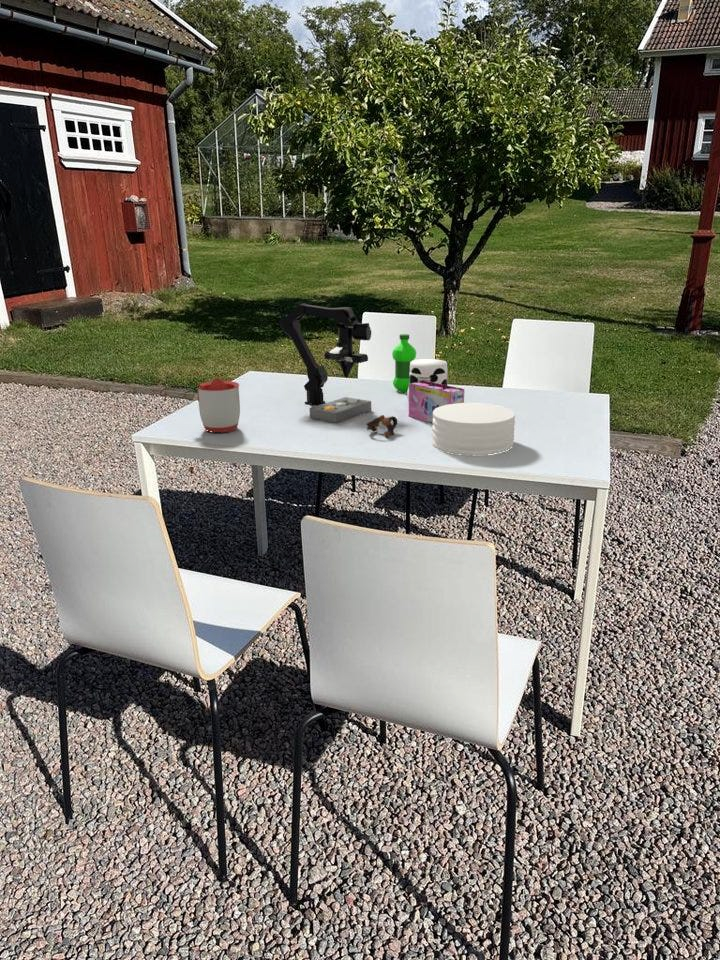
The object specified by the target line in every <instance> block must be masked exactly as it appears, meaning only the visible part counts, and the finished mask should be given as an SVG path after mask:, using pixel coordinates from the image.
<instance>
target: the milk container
mask: <svg viewBox="0 0 720 960" xmlns="http://www.w3.org/2000/svg"><path fill="white" fill-rule="evenodd" d="M409 376H410V382H409V383H419V381H420V380H424V381H429V382H433V383H438V384H442V385H447V386H449V385H448V363H447V361H446V360H442V359H434V358H424V359H423V358H422V359H421V358H420V359H414V360H413V361H411V362H410V373H409ZM406 395H407V401H408V403H409V387H408V391H407V392H406Z"/></svg>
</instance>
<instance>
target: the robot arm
mask: <svg viewBox="0 0 720 960" xmlns="http://www.w3.org/2000/svg"><path fill="white" fill-rule="evenodd" d="M305 315H307V316H311V317H312V316H313V317H319V318H320V317H321V318H327V319H330V320H332V321H334V322H336V323H335V325H333V326H332V327H333V328H332V329H337V330H338V331H337V333H338V341H336V344H335V345H336V346H335V347H334V348H332V349H331V350H327V351H325V353H324V354H323V357H324V359H325V360H331V361H333V360H334V361H335V362H336V364H339V366H340V368H341V371H342V373H343V376H344V378H349V376H350V374H351V371H352V368H353V366H354V364H356V363H357V364H362V363H365V362H369V355H368V354H366V353H356V351H354V345H355V343H356V342H355V341H370V340H371V338H372V330H371V329H372V328H371V326H370V323H369V322H365V323H363V322H362V323H361V322H360V321H359V320H358V319H357V317H356V315H355V313H354V310H353V309H352V307H348V306H346V307H345V306H344V307H326V306H319V305H313V304H307V303H301V304H299V305H298V306H297V307H296V308H294V309H293V310H292V311H290V312H289V313H288V314H286V315H283V316H281V318H280V320H279V326H280V327H281V328H282V330H283V332H284V333H285V334H287V335H288V336H289V337H290V338H291V340H292V342H293V344H294V347H295V348H296V350H297V353H298V354H299V356H300V358H301V361H302V362H303V364H304V365H305V367H306V374H307V375H306V376H307V379H308V381H306V383H305V384H304V385H303V387H304V390H305V392H306V401H304V404H306V403H307V405H313V406H319V405H322V404H325V403H326V401H325V400H324V392H323V388H324V386H325V384H326V383H327V382H328V373H329V372H328V371H326V369H325V368H326V367H325V366H324V365H323V364H322V365H320V364H319V363H318V362H317V360H316V359H315V357H314V355H313V353H312V351H311V349H310V347H309V345H308V343H307V342H306V339H305V337H304V335H303V333H302V329H301V322H300V321H301V320H302V319H303V318H304V317H305ZM353 339H354V340H355V341H354V340H353ZM355 353H356V354H355Z"/></svg>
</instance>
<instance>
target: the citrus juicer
mask: <svg viewBox="0 0 720 960" xmlns="http://www.w3.org/2000/svg"><path fill="white" fill-rule="evenodd" d="M196 391H197V393H196V394H194V397H193V399H192V401H198V410H199V415H200V420H201V423H202V425H203V428H204V429H205V431H206V430H208V431H212V432H214V433H215V432H221V433H229V432H228V431H231V432H232V431H235V430H237V428H238V425H239V421H240V416H241V415H240V414H241V404H240V403H241V401H240V384H239V382H237V381H232V380H230V381H229V380H223V379H221V378H220V377H218V376H216V377H215V378H214V379H213V381H207V382H201V383H200V384H199V383H198V387H197V390H196ZM208 431H207V432H208Z"/></svg>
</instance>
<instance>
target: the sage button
mask: <svg viewBox="0 0 720 960" xmlns="http://www.w3.org/2000/svg"><path fill="white" fill-rule="evenodd" d="M336 406H339V407H344V406H346V403H344V402H339V403H336Z"/></svg>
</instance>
